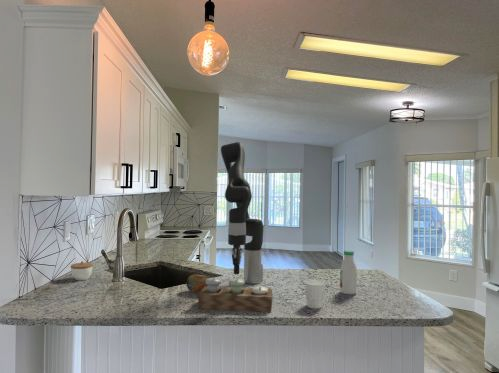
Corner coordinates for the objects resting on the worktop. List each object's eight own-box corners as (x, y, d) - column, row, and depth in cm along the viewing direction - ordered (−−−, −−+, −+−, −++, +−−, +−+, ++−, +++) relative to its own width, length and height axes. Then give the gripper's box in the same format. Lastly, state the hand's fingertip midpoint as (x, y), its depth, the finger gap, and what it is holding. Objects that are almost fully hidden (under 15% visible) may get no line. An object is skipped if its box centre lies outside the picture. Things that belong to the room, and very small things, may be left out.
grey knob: (222, 290, 159) (222, 277, 159) (219, 294, 153) (219, 281, 153) (207, 289, 160) (207, 277, 160) (203, 293, 153) (204, 281, 153)
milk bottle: (359, 292, 176) (359, 251, 176) (351, 296, 170) (352, 253, 170) (344, 289, 181) (345, 249, 181) (336, 292, 176) (337, 251, 176)
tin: (185, 291, 175) (186, 273, 175) (189, 289, 178) (190, 272, 178) (212, 296, 168) (212, 277, 168) (216, 294, 171) (216, 276, 171)
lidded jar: (87, 281, 190) (87, 263, 190) (66, 281, 191) (66, 263, 191) (96, 276, 201) (96, 259, 201) (76, 276, 201) (76, 259, 201)
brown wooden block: (272, 302, 160) (272, 288, 160) (271, 311, 148) (271, 297, 148) (204, 299, 163) (204, 286, 163) (198, 308, 151) (198, 294, 151)
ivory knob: (268, 298, 157) (268, 286, 157) (267, 303, 151) (267, 290, 151) (252, 298, 158) (252, 285, 158) (251, 303, 151) (251, 290, 151)
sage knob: (245, 290, 158) (245, 278, 158) (243, 295, 152) (243, 282, 152) (229, 290, 159) (230, 278, 159) (227, 294, 152) (227, 282, 152)
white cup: (320, 310, 150) (320, 286, 150) (302, 307, 154) (302, 283, 154) (327, 305, 157) (327, 282, 157) (309, 302, 161) (310, 279, 161)
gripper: (230, 231, 162) (230, 270, 162) (225, 235, 149) (225, 277, 149) (247, 231, 161) (247, 270, 161) (244, 235, 148) (243, 278, 148)
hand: (236, 273), depth 155 cm, fingers closed
